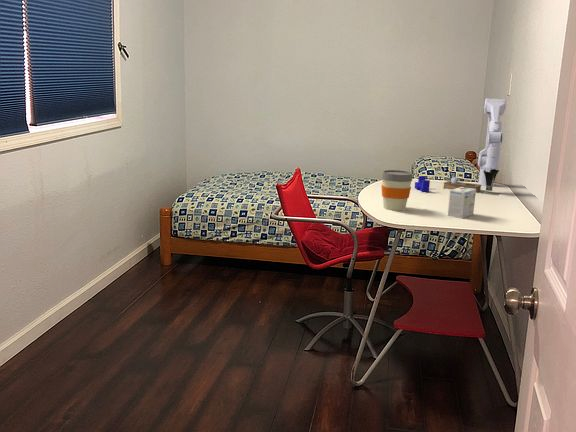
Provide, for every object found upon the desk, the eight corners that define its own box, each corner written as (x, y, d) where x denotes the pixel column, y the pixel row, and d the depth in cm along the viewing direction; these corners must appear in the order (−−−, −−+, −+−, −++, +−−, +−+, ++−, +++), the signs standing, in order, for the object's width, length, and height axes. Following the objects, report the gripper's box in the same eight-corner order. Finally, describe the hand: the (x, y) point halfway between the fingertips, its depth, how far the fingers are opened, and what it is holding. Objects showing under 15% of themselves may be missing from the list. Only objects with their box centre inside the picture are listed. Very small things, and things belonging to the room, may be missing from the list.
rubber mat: (484, 191, 317) (484, 190, 317) (501, 193, 314) (501, 192, 313) (480, 193, 311) (480, 193, 311) (497, 196, 307) (497, 195, 307)
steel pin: (486, 189, 314) (488, 172, 312) (492, 190, 313) (494, 173, 311) (485, 190, 312) (486, 173, 310) (491, 191, 310) (493, 174, 308)
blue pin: (451, 187, 323) (452, 177, 322) (457, 188, 321) (458, 177, 320) (449, 188, 320) (451, 177, 319) (455, 189, 319) (457, 178, 318)
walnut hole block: (448, 186, 326) (448, 180, 326) (480, 190, 318) (481, 184, 318) (443, 188, 319) (444, 182, 319) (476, 193, 312) (476, 187, 311)
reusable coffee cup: (386, 211, 262) (389, 175, 259) (374, 205, 274) (377, 170, 271) (414, 211, 266) (418, 175, 262) (401, 204, 277) (404, 169, 274)
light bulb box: (458, 212, 268) (461, 186, 266) (474, 214, 264) (476, 188, 262) (446, 215, 260) (449, 189, 258) (462, 218, 256) (465, 191, 254)
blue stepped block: (414, 188, 319) (415, 175, 318) (423, 188, 319) (424, 176, 318) (419, 192, 308) (420, 180, 306) (428, 193, 308) (429, 180, 306)
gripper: (488, 154, 317) (485, 181, 320) (480, 157, 304) (477, 186, 308) (502, 156, 313) (499, 183, 316) (495, 159, 301) (492, 188, 304)
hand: (489, 185), depth 312 cm, fingers closed on steel pin, 3 cm apart
